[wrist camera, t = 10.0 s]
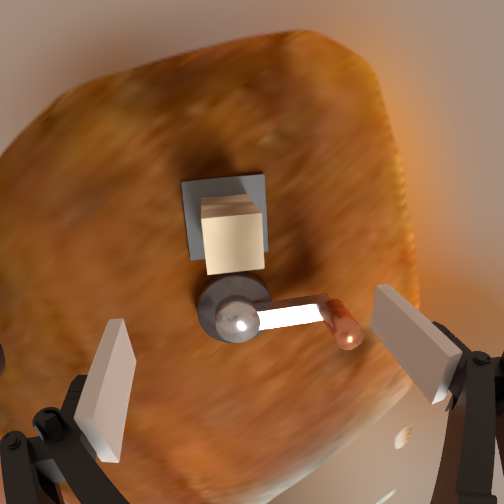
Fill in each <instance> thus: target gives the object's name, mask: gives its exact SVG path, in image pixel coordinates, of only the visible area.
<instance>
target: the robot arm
mask: <svg viewBox="0 0 504 504" xmlns="http://www.w3.org/2000/svg"><path fill="white" fill-rule="evenodd" d="M370 328H371V330H372V331H373V332H374V333H375V334H376V336H377V337H378V338H379V339H380V340H381V342H382V343H383V344H384V345H385V347H386V348H387V349H388V350H389V351H390V353H391V354H392V355H393V356H394V358H395V359H396V360H397V361H398V363H399V364H400V365H401V366H402V368H403V369H404V370H405V371H406V373H407V374H408V375H409V376H410V378H411V379H412V380H413V381H414V383H415V384H416V385H417V386H418V388H419V389H420V390H421V391H422V393H423V394H424V395H425V397H426V398H427V399H428V400H429V402H430V403H431V404H434V403H436V402H439V401H441V400H443V399H445V396H446V394H447V391H448V389H449V390H450V392H451V393H452V394H453V395H452V397H451V399H450V401H449V403H448V406H447V408H446V410H445V411H448V409H449V416H448V422H447V429H446V435H445V441H444V447H443V452H442V457H441V462H440V467H439V471H438V476H437V480H436V484H435V488H434V492H433V496H432V500H431V503H430V504H497V497H496V496H495V495H492V494H491V489H492V480H493V469H494V455H495V435H496V440H497V444H498V449H499V454H500V459H501V464H502V469H503V475H504V352H503V354H502V357H495V358H491V357H490V356H489V355H488V354H486V353H484V352H481V351H473V352H471V350H470V349H469V348H467V347H466V346H465V345H464V344H463V343H462V342H461V341H460V340H459V339H458V338H457V337H455V336H454V335H453V334H452V333H450V331H449V330H448V329H447V328H446V327H445V326H443V325H441V324H439V323H437V322H435V321H434V322H430V321H429V320H428V319H427V318H426V317H425V316H424V315H423V314H422V313H420V312H419V311H418V310H417V309H416V308H415V307H414V306H413V305H412V304H410V303H409V302H408V301H407V300H406V299H405V298H404V297H403V296H401V295H400V294H399V293H398V292H397V291H396V290H395V289H393V288H392V287H391V286H390V285H389V284H388V283H387V284H382V285H376V288H375V297H374V305H373V312H372V320H371V326H370ZM135 366H136V359H135V356H134V353H133V350H132V346H131V343H130V340H129V337H128V333H127V330H126V326H125V323H124V319H123V318H122V319H109V321H108V323H107V326H106V328H105V331H104V334H103V336H102V339H101V341H100V344H99V346H98V349H97V352H96V354H95V357H94V360H93V362H92V365H91V368H90V371H89V373H88V375H78V376H77V377H76V378H75V379H74V380H73V381H72V382H71V384H70V387H69V389H68V393H67V394H66V397H65V400H64V402H63V405H62V408H61V411H60V410H59V409H58V408H55V407H47V408H44V409H42V410H40V411H39V412H38V413H37V414H36V415H35V416H34V419H33V427H34V429H35V430H36V431H37V433H38V434H39V436H37V437H32V438H26V436H25V435H24V434H23V433H22V432H20V431H11V432H8V433H7V434H5V435H4V436H3V438H2V439H1V441H0V456H1V467H2V476H3V485H4V492H5V498H6V504H65V503H64V501H63V497H62V494H61V490H60V487H59V484H58V482H62V481H67V483H68V485H69V486H70V488H71V489H72V491H73V492H74V494H75V495H76V497H77V498H78V500H79V501H80V503H81V504H130V503H129V502H128V501H127V500H126V499H125V498H124V496H123V495H122V494H121V493H120V492H119V491H118V489H117V488H116V487H115V486H114V485H113V483H112V482H111V481H110V480H109V479H108V477H107V476H106V475H105V474H104V472H103V471H102V470H101V468H100V467H99V466H98V464H97V463H96V462H95V459H96V454H97V456H98V457H99V458H100V460H101V461H102V462H119V460H120V453H121V446H122V439H123V433H124V426H125V420H126V414H127V408H128V402H129V397H130V391H131V386H132V381H133V376H134V371H135ZM4 368H5V358H4V354H3V350H2V348H1V345H0V376H1V375H2V373H3V371H4Z"/></svg>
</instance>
